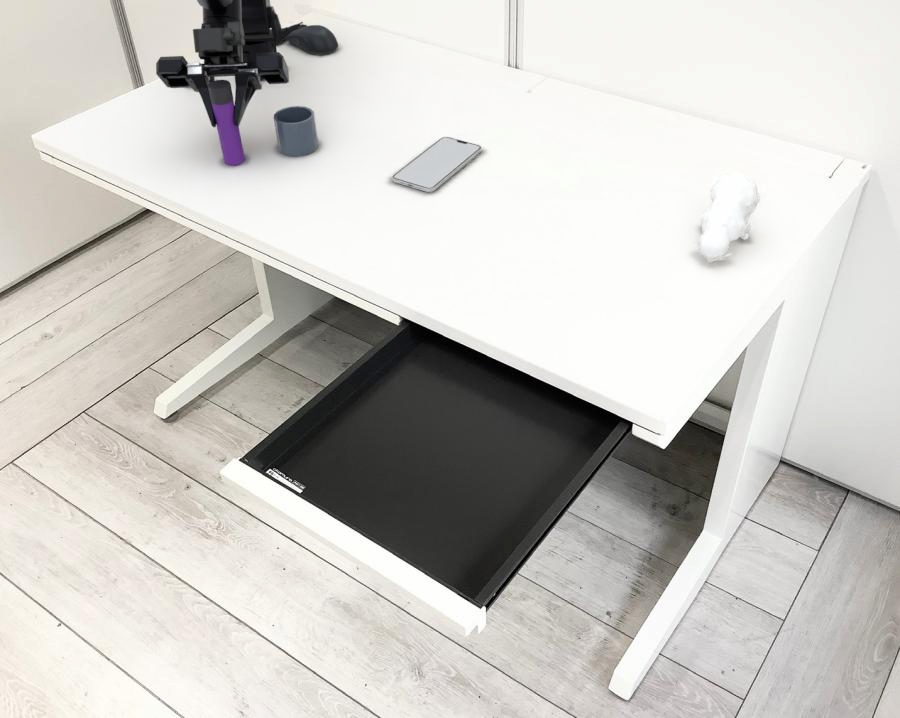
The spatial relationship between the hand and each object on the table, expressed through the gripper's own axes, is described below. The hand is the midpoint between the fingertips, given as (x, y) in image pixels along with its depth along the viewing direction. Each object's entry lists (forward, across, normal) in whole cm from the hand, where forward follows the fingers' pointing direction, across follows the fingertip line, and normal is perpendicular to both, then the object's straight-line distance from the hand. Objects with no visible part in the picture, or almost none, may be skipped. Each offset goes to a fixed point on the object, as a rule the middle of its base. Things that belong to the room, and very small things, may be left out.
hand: (225, 125), depth 133 cm
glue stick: (+4, 0, +6) cm, 7 cm away
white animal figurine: (+24, +68, -15) cm, 74 cm away
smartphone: (+7, +32, +3) cm, 32 cm away
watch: (-18, -11, +27) cm, 34 cm away
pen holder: (+1, +10, +8) cm, 13 cm away
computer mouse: (-29, +7, +38) cm, 48 cm away
